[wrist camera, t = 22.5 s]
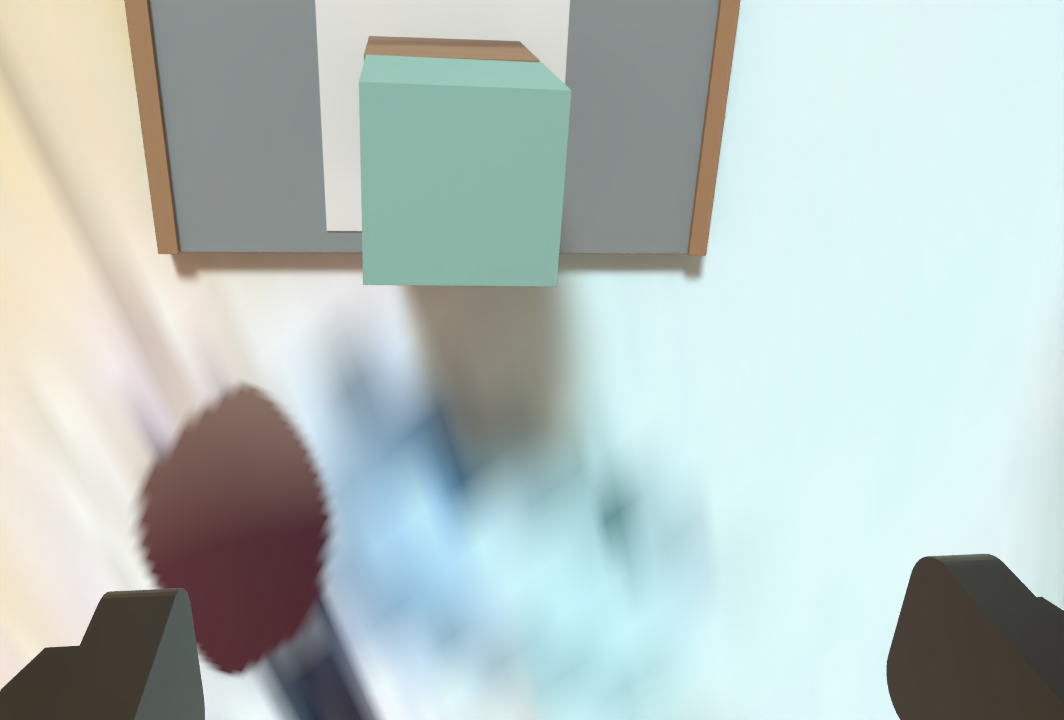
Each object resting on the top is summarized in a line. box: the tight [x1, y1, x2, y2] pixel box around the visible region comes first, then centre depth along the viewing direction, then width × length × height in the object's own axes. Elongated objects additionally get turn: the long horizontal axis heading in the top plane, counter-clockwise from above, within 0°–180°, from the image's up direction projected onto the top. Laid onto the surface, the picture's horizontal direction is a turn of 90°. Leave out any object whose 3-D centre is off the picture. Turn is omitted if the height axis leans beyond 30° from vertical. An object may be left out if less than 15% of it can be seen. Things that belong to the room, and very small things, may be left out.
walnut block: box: [364, 36, 540, 62], centre depth 35 cm, size 6×6×6 cm
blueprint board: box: [124, 0, 740, 256], centre depth 38 cm, size 12×24×2 cm, turn 87°
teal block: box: [359, 55, 571, 287], centre depth 30 cm, size 6×6×6 cm
